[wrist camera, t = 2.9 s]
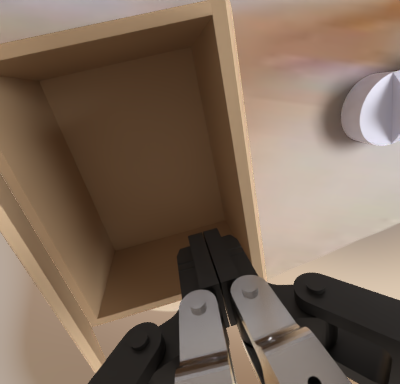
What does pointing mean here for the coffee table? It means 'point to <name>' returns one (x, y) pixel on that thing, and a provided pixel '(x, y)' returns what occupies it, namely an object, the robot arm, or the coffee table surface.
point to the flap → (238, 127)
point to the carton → (121, 152)
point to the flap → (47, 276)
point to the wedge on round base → (373, 109)
